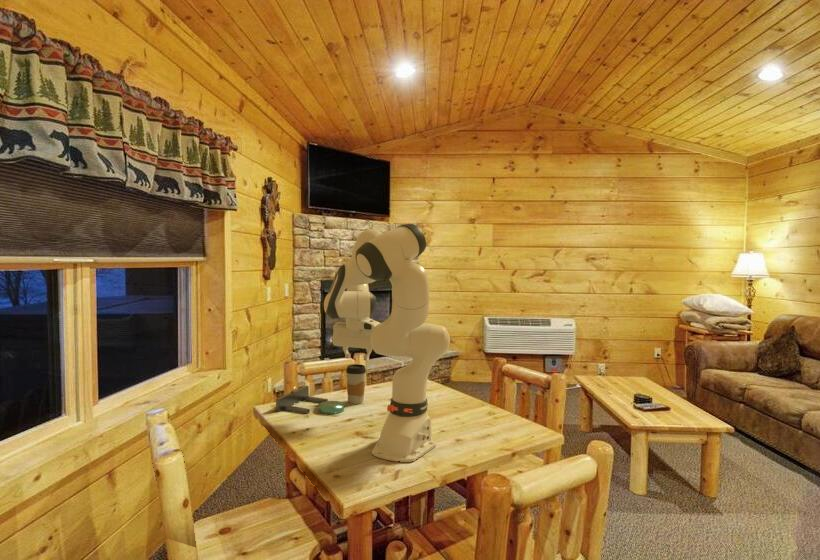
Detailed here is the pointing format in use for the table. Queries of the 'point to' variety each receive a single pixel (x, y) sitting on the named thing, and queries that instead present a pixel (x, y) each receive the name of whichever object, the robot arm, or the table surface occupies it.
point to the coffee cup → (355, 383)
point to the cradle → (296, 400)
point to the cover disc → (330, 407)
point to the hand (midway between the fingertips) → (357, 359)
